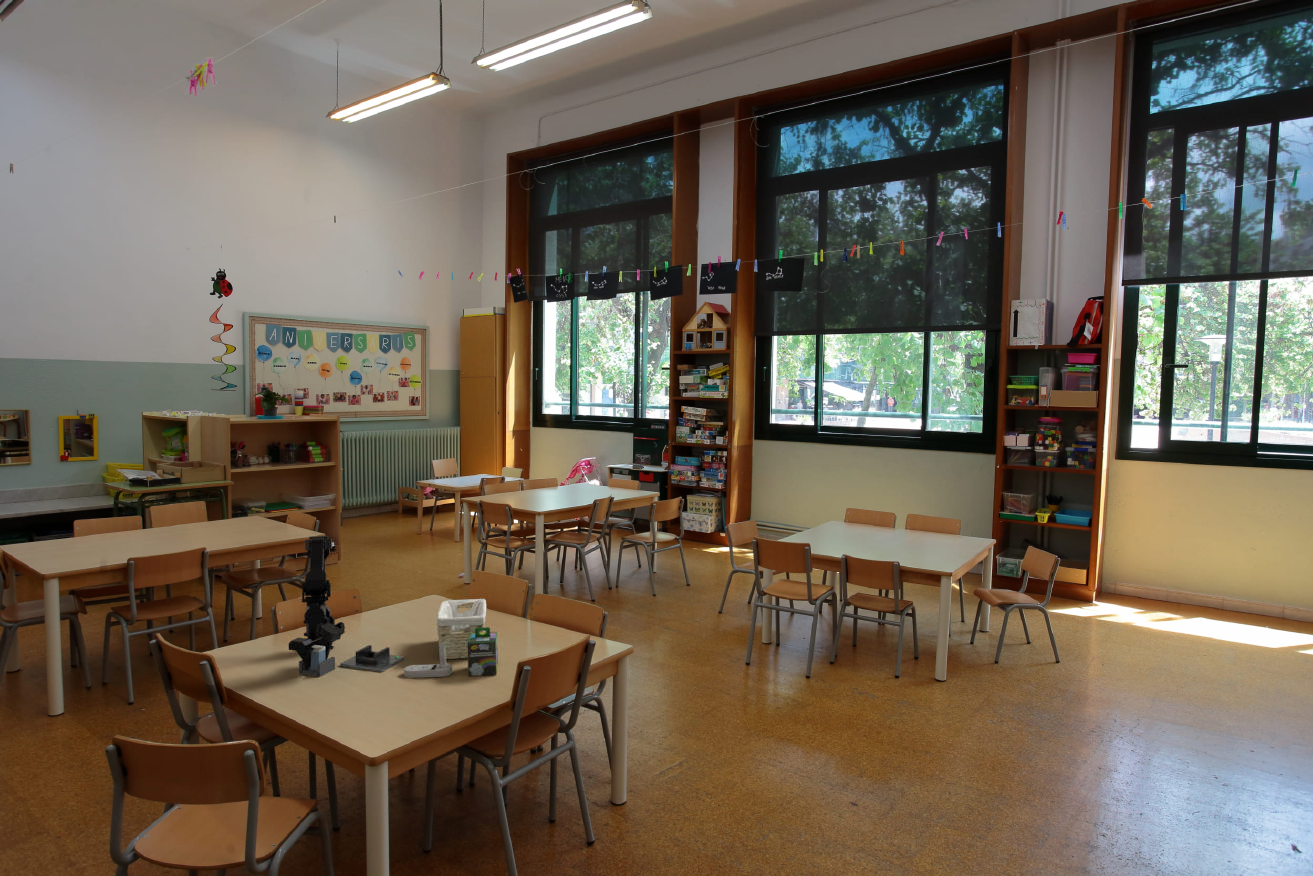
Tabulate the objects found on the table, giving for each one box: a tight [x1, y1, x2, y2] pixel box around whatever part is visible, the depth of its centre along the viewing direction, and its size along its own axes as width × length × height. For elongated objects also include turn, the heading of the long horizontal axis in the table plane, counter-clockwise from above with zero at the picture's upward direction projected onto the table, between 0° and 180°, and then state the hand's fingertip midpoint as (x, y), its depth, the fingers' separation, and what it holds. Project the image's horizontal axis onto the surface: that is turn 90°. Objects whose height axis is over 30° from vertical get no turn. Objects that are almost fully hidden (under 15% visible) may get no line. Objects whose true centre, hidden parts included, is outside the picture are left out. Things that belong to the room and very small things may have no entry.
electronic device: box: [403, 644, 453, 679], centre depth 247 cm, size 5×10×15 cm
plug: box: [309, 645, 325, 671], centre depth 248 cm, size 4×3×8 cm
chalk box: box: [467, 626, 499, 677], centre depth 250 cm, size 9×9×15 cm
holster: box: [298, 656, 336, 678], centre depth 248 cm, size 8×7×4 cm
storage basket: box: [436, 598, 487, 660], centre depth 271 cm, size 24×16×15 cm
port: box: [339, 644, 405, 673], centre depth 256 cm, size 16×12×4 cm
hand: (317, 663), depth 248 cm, fingers open, 7 cm apart
